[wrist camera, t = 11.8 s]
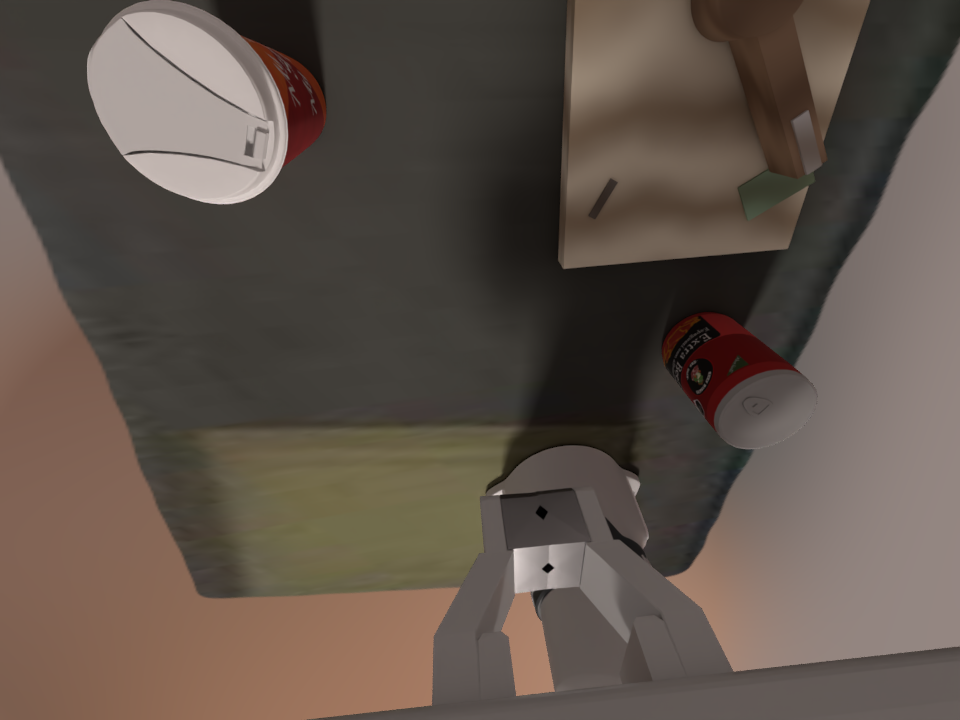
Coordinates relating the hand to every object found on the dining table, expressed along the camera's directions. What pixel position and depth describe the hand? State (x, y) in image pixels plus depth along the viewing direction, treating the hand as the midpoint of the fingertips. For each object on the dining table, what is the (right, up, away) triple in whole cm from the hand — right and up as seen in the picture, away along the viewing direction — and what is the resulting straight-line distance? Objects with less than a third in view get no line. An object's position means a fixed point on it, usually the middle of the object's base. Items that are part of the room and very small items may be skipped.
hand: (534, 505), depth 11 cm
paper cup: (-15, +22, +18) cm, 32 cm away
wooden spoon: (+17, +23, +17) cm, 33 cm away
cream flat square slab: (+14, +22, +20) cm, 33 cm away
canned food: (+20, +6, +32) cm, 38 cm away
